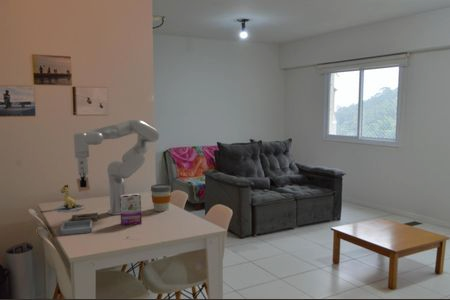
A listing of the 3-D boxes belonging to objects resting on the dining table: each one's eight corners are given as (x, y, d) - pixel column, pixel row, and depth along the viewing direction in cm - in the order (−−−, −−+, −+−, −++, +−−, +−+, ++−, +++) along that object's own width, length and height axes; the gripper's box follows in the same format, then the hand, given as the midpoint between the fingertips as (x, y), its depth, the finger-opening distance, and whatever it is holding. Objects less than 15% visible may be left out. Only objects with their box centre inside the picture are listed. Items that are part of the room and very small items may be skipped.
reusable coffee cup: (173, 206, 245) (173, 184, 244) (168, 212, 233) (168, 188, 231) (154, 206, 247) (154, 183, 245) (148, 211, 234) (148, 187, 233)
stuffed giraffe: (66, 204, 253) (65, 181, 251) (89, 207, 248) (88, 183, 246) (48, 211, 238) (47, 187, 236) (72, 214, 233) (71, 189, 230)
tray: (92, 224, 210) (92, 219, 209) (91, 232, 195) (91, 227, 195) (63, 226, 205) (63, 222, 205) (60, 235, 191) (59, 230, 191)
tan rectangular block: (90, 188, 219) (87, 176, 218) (90, 189, 216) (87, 177, 215) (79, 190, 217) (76, 178, 216) (78, 191, 214) (76, 179, 213)
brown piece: (97, 216, 225) (97, 212, 225) (97, 220, 216) (97, 216, 215) (72, 218, 221) (72, 214, 221) (71, 223, 211) (70, 218, 211)
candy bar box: (141, 221, 214) (140, 192, 213) (141, 223, 210) (140, 194, 208) (120, 222, 211) (119, 194, 210) (120, 225, 207) (119, 196, 205)
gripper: (88, 156, 208) (90, 189, 210) (89, 152, 223) (91, 183, 225) (73, 156, 205) (75, 190, 207) (75, 153, 221) (77, 184, 223)
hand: (83, 186), depth 216 cm, fingers closed on tan rectangular block, 2 cm apart
